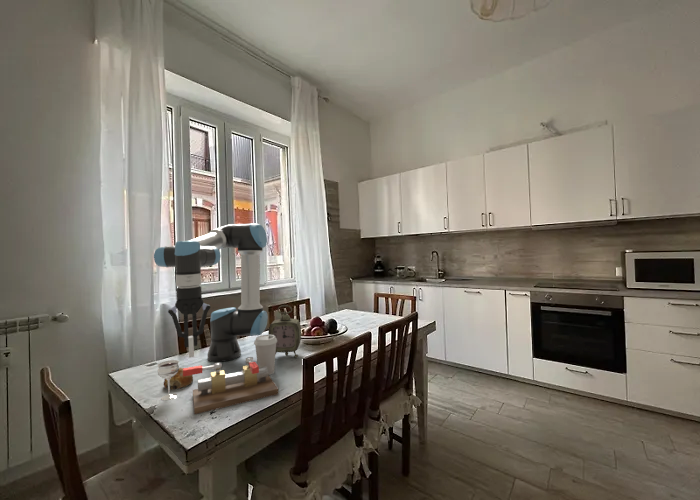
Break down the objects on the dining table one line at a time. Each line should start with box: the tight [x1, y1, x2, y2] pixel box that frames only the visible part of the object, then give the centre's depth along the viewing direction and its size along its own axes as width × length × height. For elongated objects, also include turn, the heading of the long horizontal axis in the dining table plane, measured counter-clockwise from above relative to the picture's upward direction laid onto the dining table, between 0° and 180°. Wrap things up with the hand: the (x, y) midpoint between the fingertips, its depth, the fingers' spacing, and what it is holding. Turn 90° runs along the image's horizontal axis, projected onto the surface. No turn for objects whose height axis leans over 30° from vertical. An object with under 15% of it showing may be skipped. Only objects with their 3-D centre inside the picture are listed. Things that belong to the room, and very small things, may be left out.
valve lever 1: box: [182, 362, 223, 376], centre depth 110 cm, size 12×3×2 cm, turn 117°
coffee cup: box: [253, 334, 277, 376], centre depth 132 cm, size 10×10×15 cm
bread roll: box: [163, 367, 194, 391], centre depth 123 cm, size 10×10×8 cm
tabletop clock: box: [267, 304, 302, 359], centre depth 152 cm, size 14×9×25 cm, turn 91°
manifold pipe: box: [197, 364, 268, 395], centre depth 115 cm, size 4×24×8 cm, turn 118°
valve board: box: [192, 375, 279, 415], centre depth 113 cm, size 15×27×2 cm, turn 118°
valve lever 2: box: [245, 356, 259, 374], centre depth 113 cm, size 12×3×2 cm, turn 28°
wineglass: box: [157, 359, 180, 401], centre depth 112 cm, size 7×7×12 cm
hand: (191, 355), depth 106 cm, fingers closed
